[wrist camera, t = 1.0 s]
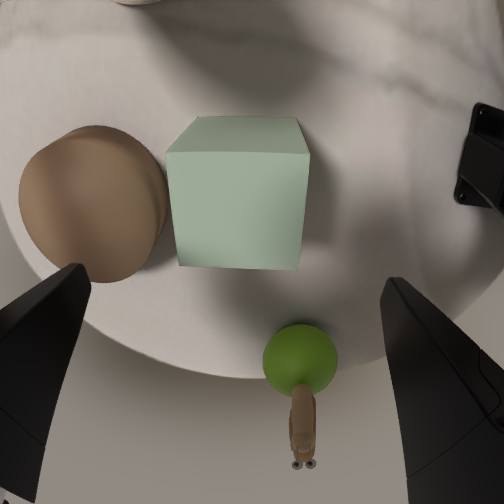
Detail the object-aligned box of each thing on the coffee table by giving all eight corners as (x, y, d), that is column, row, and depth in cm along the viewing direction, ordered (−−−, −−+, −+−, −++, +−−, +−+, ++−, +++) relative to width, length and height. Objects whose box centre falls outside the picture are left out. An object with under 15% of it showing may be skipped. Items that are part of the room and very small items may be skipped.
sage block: (295, 118, 15) (310, 154, 11) (290, 203, 18) (297, 270, 13) (198, 116, 16) (165, 152, 11) (202, 201, 18) (179, 265, 14)
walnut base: (160, 118, 16) (141, 133, 13) (176, 256, 21) (165, 287, 18) (32, 135, 16) (3, 152, 13) (63, 252, 21) (44, 277, 19)
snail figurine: (333, 295, 22) (360, 461, 12) (332, 350, 26) (347, 486, 16) (256, 302, 23) (248, 469, 13) (267, 355, 27) (264, 492, 17)
